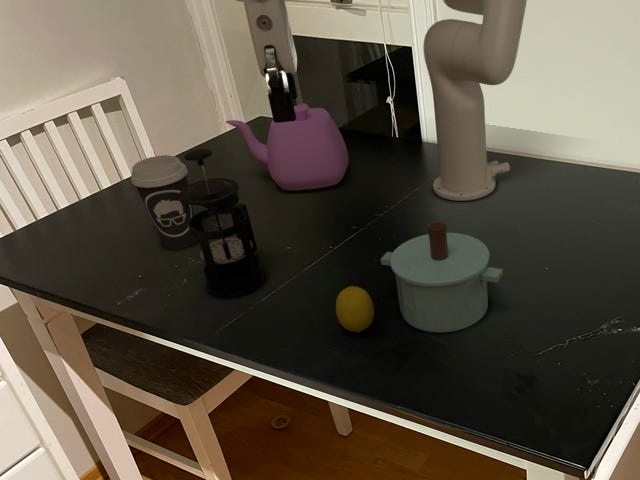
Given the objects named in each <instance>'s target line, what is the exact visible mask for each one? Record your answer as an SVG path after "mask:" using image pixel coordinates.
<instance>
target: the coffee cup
mask: <svg viewBox="0 0 640 480" xmlns="http://www.w3.org/2000/svg"><path fill="white" fill-rule="evenodd" d="M188 173H189V169H188V168H187V166H186V165H185V163H184V162H182V161H181V160H180V159H179V157H178V156H175V155H167V154H163V155H155V156H150V157H147V158H144V159H141V160H139V161H137V162H136V163H134V164H133V166H132V167H131V174H130V183H131V184H132V185H133V186H135V187H136V189H137V191H138V193H139V195H140V198H141V200H142V202H143V204H144V206H145V209H146V210H147V213H148V215H149V217H150V220H151V221H152V223H153V225H154V228H155V230H156V231H157V234H158V237H159V239H160V241H161V243H162V245H163V247H164V248H165V249H168V250H182V249H186V248H189V247H192V246H193V245H195V244H197V243H198V242H199V241H198V238H196V237H194V236H193V235H192V234H191V232H190V229H189V226H188V223H189V220H190V219H191V218H192V217H193V216H194V215H196V214H195V210H194V205H191V204H188V206H187V208H186V207H185V203H184V202H182V201H181V200H180V198H179V194H180V192H181V191H182V189H184V188H185V187H187V186H188V185H189V183H188V182H189V181H188V177H187V175H188ZM193 229H194V230H195V228H194V227H193Z"/></svg>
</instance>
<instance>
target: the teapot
mask: <svg viewBox="0 0 640 480" xmlns="http://www.w3.org/2000/svg"><path fill="white" fill-rule="evenodd" d="M294 109H295V114H296V120H295V121H290V122H281V123H275V122H274V121H273V119H272V120H271V122H270V126H269V130H268V135H267V142H266V144H264V143H261V142H260V141H259V140H258V139H257V138H256V136H255V134H254V132H253V130H252V128H251V127H250V126H249V125H248V124H247V123H246V122H245V121H242V120H236V119H235V120H234V119H232V120H231V119H230V120H225V123H226V124H228V125H230V126H232V127H235V128H236V129H237V130H238V131H239V132H240V133H241V135H242V137H243V138H244V140H245V142H246V145H247V148H248V149H249V152H250V154H251V155H252V156H253V159H255V160H256V161H257V162H259V163H260V164H262V165H264V166H266V167H267V168H268V172H269V175H270V177H271V178H272V179H273V181H274V182H275V183H276V185H277V186H278V187H279V188H280V189H282V190H285V191H304V190H313V189H314V190H315V189H321V188H327V187H333V186H335V185H337V184H339V183H340V182H341V181H342V180H343V178H344V176H345V174H346V171H347V169H348V166H349V159H350V158H349V152H348V149H347V145H346V143H345V140H344V137H343V135H342V133H341V132H340V129H339V127H338V126H337V125H336V123H335V121H334V120H333V118H332V116H331V115H330V113H329V112H328V111H327V110H326V109H325V108H323V107H309V105H308V104H307V103H300V104H298V105H297V104H296V105H294Z"/></svg>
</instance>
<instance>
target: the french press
mask: <svg viewBox="0 0 640 480" xmlns="http://www.w3.org/2000/svg"><path fill="white" fill-rule="evenodd" d="M213 154H214V151H213V150H212V149H210V148H196V149H192V150H190V151H188V152H186V153H185V154H183V158H184V160H186V161H192V162H195V161H196V163H197V165H198V166H199V167H200V169H201V172H202V173H201V174H202V176H203V179H202V180H199V181H196V182H193V183H191V184H188V186H187V187H185V188H184V189H182V191H181V192H180V194H179V198H180V200H181V201H182V202H184V203H185V207H186V208H187V206H188V204H191V205H193V206H200V207H203V208H205V209H204V210H201V211H199V212H198V213H196V214H195V215H194V216H193V217H192V218H191V219H190V220H189V223H188V226H189V229H190V232H191V234H192V235H193V236H194V237H196V238H198V241H197V242H198V243H199V247H200V253H199V257H200V258H201V260H203V262H204V263H205V266H204V268H203V275H204V277H205V281H206V289H207V291H208V293H209V294H211V295H212V296H214V297H217V298H221V299H222V298H223V299H232V298H239V297H242V296H246V295H248V294H251V293H253V292H255V291H257V290H258V289H259V288H261V286H262V285H263V283H264V282H265V274H264V272H263V271H262V268H261V264H260V260H259V258H258V257H257V256H256V255H255V253H256V252H257V251H258V247H257V243H256V239H255V235H254V230H253V227H252V223H251V219H250V216H249V212H248V209H247V205H246V204H245V203H242V202H241V203H240V201H239V200H240V197H239V193H238V191H239V190H240V186H239V183H238V182H237V181H235V180H234V179H232V178H225V177H215V178H208V177H207V174H206V171H205V168H204V166H205V159H206V160H207V159H208V158H210V157H211V156H212V155H213ZM220 215H230V216H231V220H232V224H233V225H232V226H230V227H227V228H224V229H222V226H221V222H220V218H219V216H220ZM211 217H215V220H216V224H217V227H218V230H214V231H205V229H204V226H203V223H202V221H203V220H206V219H208V218H211ZM193 227H194V228H195V230H194V229H193ZM234 235H236V237H235V236H234ZM213 240H214V241H213ZM209 241H211V242H209ZM235 272H247V273H246V274H243V275H241V276H237V277H234V278H228V279H227V278H226V279H221V278H222V277H224V276H225V275H228V274H230V273H235Z"/></svg>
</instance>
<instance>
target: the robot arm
mask: <svg viewBox="0 0 640 480" xmlns="http://www.w3.org/2000/svg"><path fill="white" fill-rule="evenodd" d="M235 1H236V2H239V3H240V2H241V3H243V5H244V10H245V16H246V20H247V25H248V29H249V33H250V39H251V41H252V46H253V50H254V54H255V59H256V61H257V66H258V69H259V73H260V75H261V76H262V77H263V78H264V79H265V80H266V89H267V98H268V102H269V107H270V111H271V116H272V120H273V121H274V122H275V123H281V122H290V121H295V120H296V114H295V109H294V106H295V104H294V100H297V98H298V92H297V87H296V81H295V78H294V75H295V74H296V73H297V71H298V70H297V66H298V55H297V51H296V47H295V43H294V37H293V33H292V28H291V27H292V26H291V23H290V22H291V21H290V18H289V14H288V9H287V6H286V5H287V4H286V1H285V0H235ZM442 1H443V3H444V4H445V6H446V7H447V8H450V9H452V10H454V11H457V12H460V13H466V14H471V15H472V14H473V15H477V16H478V15H479V16H482V21H481V23H477V22H473V21H467V20H461V19H453V18H448V19H447V18H446V19H441V20H438V21H436V22H435V23H433V24H432V25H431V26H430V27H429V28H428V30H427V31H426V33H425V36H424V39H423V45H422V48H423V49H422V51H423V58H424V62H425V67H426V69H427V73H428V76H429V80H430V85H431V91H432V100H433V112H434V121H435V122H434V124H435V131H436V132H435V134H436V144H437V157H438V167H439V168H438V169H439V176H438V177H437V178H435V180H434V181H433V183H432V190H433V192H434V193H435V195H437V196H438V197H440V198H442V199H446V200H449V201H457V202H459V201H460V202H463V201H473V200H474V201H475V200H478V199H481V198H484V197H486V196H488V195H490V194H491V193H492V192H494V191H495V188H496V179H495V177H496V176H497V175H499V174H504V173H505V174H506V173H508V172H510V170H511V167H510V164H509V162H507V161H506V162H502V163H499V161H498V160H492V161H489V162H488V158H487V157H488V156H487V136H486V135H487V133H486V113H485V112H486V111H485V98H484V93H483V90H482V86H481V84H482V85H487V86H498V85H502V84H503V83H504V82H506V81H507V80H508V79H509V77H510V76H511V74H512V73H513V70H514V68H515V63H516V60H517V57H518V51H519V46H520V41H521V36H522V31H523V30H522V29H523V24H524V19H525V14H526V8H527V1H528V0H442Z"/></svg>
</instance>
